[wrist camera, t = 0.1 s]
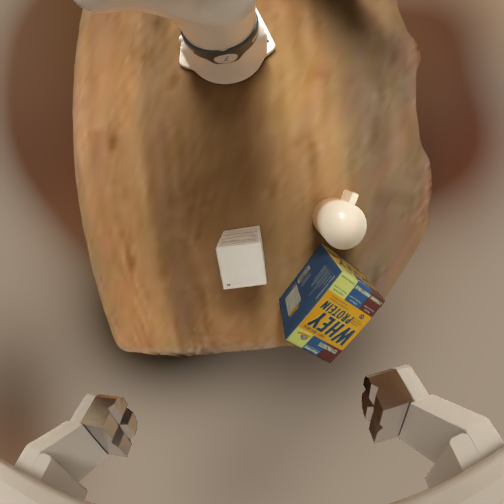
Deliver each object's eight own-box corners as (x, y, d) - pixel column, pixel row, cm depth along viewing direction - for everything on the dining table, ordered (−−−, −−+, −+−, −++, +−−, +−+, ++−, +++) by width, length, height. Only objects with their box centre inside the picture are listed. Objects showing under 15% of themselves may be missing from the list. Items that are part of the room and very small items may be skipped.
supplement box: (265, 259, 57) (267, 286, 45) (228, 264, 58) (222, 291, 46) (260, 224, 55) (262, 241, 43) (222, 229, 56) (214, 248, 43)
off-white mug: (340, 241, 56) (354, 255, 47) (305, 227, 55) (315, 239, 47) (360, 197, 53) (378, 203, 45) (325, 181, 52) (338, 184, 44)
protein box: (358, 267, 58) (386, 300, 43) (315, 321, 62) (329, 364, 47) (321, 241, 56) (343, 269, 41) (277, 299, 60) (284, 341, 45)
